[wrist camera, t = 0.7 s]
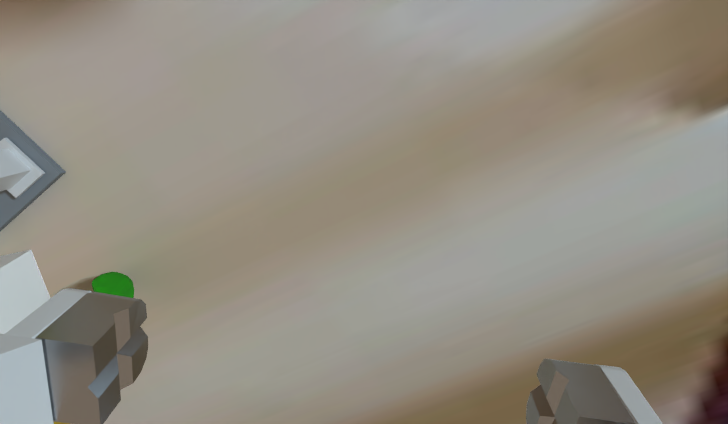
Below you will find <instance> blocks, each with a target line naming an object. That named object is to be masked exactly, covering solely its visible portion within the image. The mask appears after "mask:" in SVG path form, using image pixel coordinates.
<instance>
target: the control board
mask: <svg viewBox="0 0 728 424" xmlns="http://www.w3.org/2000/svg"><path fill="white" fill-rule="evenodd" d="M3 138H8V139H9V140H10V141H11V142H12V143H14V144H15V145H16V146H17V147H18V148H19V149H20V150H21V151H22V152H23V153H24V154H25V155H27V156H28V157H29V158H30V159H31V160H32V161H33V162H34V163H35V164H36V165H37V166H38V167H39V168H41V169H42V170H43V171H44V172H45V174H44V175H43V176H42V177H41V178H39V179H38V180H37V181H36V182H35V183H34V184H33V185H32V186H31V187H30V188H28V189H27V190H26V191H25V192H24V193H23V194H22V195H21V196H20V197H17V198H15V197H14V196H13V195H12V194H11V193H10V192H9V191H7V190H3V191H0V231H1V230H2V229H3V228H4V227H6V226H7V225H8V224H9V223H10V222H11V221H12V220H13V219H14V218H16V217H17V216H18V215H19V214H20V213H21V212H22V211H23V210H24V209H26V208H27V207H28V206H29V205H30V204H31V203H32V202H33V201H34V200H36V199H37V198H38V197H39V196H40V195H41V194H42V193H43V192H44V191H46V190H47V189H48V188H49V187H50V186H51V185H52V184H53V183H54V182H56V181H57V180H58V179H59V178H60V177H61V176H62V175H63V174H64V173H65V171H64V170H63V169H62V168H61V167H60V166H59V165H58V164H57V163H56V162H55V161H54V160H53V159H52V158H51V157H49V156H48V155H47V154H46V153H45V152H44V151H43V150H42V149H41V148H40V147H39V146H38V145H37V144H36V143H35V142H33V141H32V140H31V139H30V138H29V137H28V136H27V135H26V134H25V133H24V132H23V131H22V130H21V129H20V128H19V127H17V126H16V125H15V124H14V123H13V122H12V121H11V120H10V119H9V118H8V117H7V116H6V115H5V114H4V113H3V112H2V111H0V141H1V140H2V139H3Z"/></svg>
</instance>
